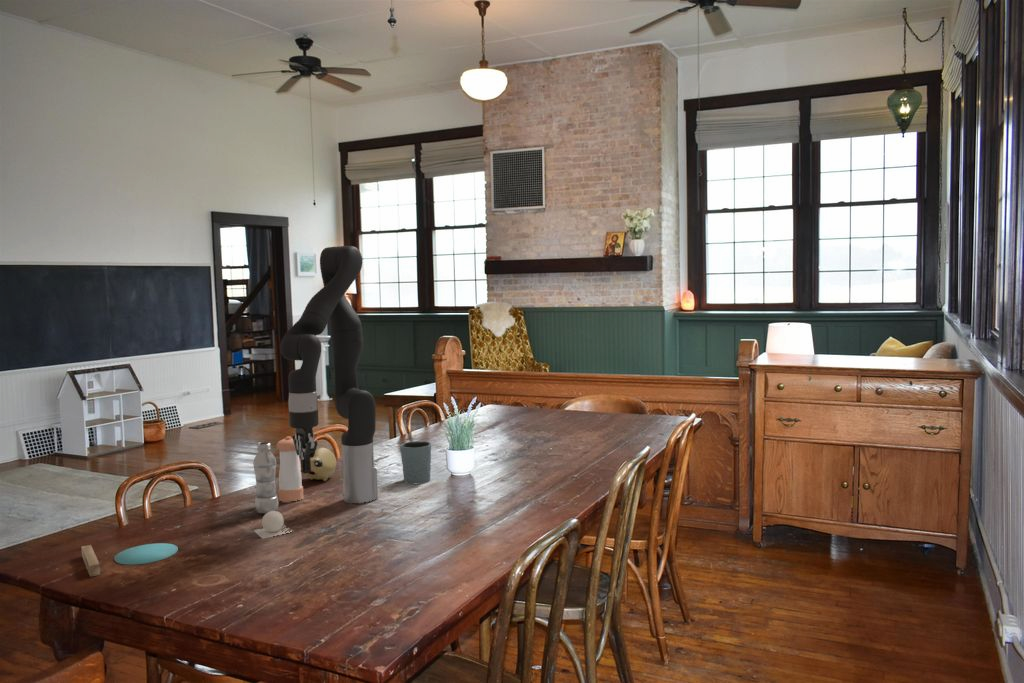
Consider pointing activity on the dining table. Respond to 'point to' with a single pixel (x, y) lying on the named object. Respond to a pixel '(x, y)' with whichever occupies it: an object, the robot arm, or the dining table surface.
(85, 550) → the bar
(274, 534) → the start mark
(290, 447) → the pepper shaker
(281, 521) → the ball
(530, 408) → the dining table surface
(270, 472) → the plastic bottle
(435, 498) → the dining table surface
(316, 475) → the yellow plush toy
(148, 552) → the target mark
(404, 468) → the dark grey pot
